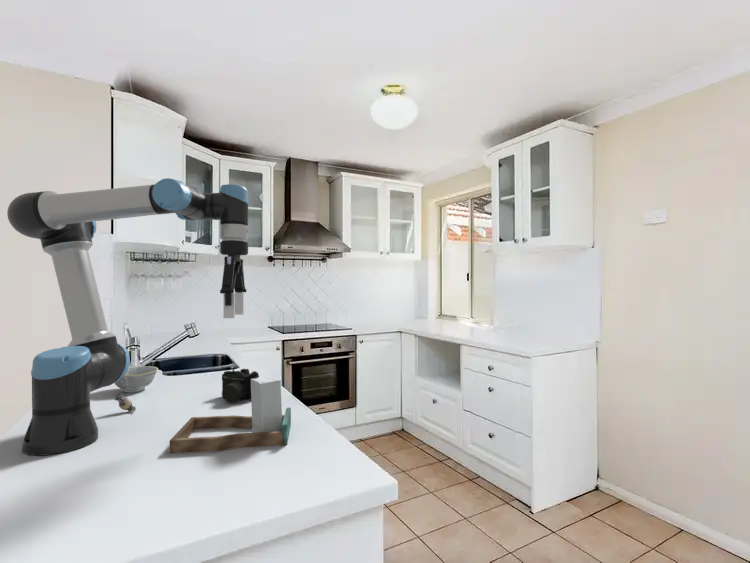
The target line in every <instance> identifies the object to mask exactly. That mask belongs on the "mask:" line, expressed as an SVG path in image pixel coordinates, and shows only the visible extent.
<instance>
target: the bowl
mask: <svg viewBox="0 0 750 563" xmlns="http://www.w3.org/2000/svg"><path fill="white" fill-rule="evenodd" d="M158 370H159V368H158V367H157V366H151V365H150V366H148V365H147V366H146V365H143V366H142V365H141V366H129V368H128V371H127V372H126V374H125V375H124V376H123V377H122V378H121V379H120V380H118V381H117V382H115V383H114V385H115V386H116V387H117V388H119V389H121V390H122V392H124V393H137V392H142V391H144V390H145V389H146V387H148V386H150V384H152V382H153V381H154V379H155V377H156V374H157V372H158Z"/></svg>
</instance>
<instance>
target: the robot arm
mask: <svg viewBox="0 0 750 563" xmlns="http://www.w3.org/2000/svg"><path fill="white" fill-rule="evenodd" d="M248 192H249V191H248V189H247V187H245V186H243V185H240V184H234V183H228V184H222V185H221V186H220V188H219V192H201V191H198V190H196V189H194V188H192V187H191V186H189V185H187V184H185V182H182V181H180V180H177V179H174V178H162V179H160V180H159V181H158V182H156V183H155V184H147V185H138V186H137V185H136V186H129V187H128V186H126V187H117V188H109V189H108V188H107V189H106V188H105V189H99V190H98V189H97V190H87V191H78V192H68V193H59V194H58V193H57V192H55V191H52V190H45V191H37V192H36V191H34V192H26V193H23V194H19V195H18V196H16V197H15V198H13V199H12V201H11V202H10V203H9V205H8V207H7V212H6V213H7V219H8V222H9V224H10V225H11V227H12V228H13V229H14V230H15V231H16V232H18V233H20V234H21V235H23V236H25V237H28V238H31V239H38V240H40V244H41V248H42V251H43V253H46V254H47V255H50V256H51V260H52V262H53V267H54V268H53V269H54V272H55V276H56V278H57V283H58V286H59V291H60V296H61V299H62V300H61V301H62V304H63V308H64V311H65V315H66V320H67V324H68V328H69V331H70V336H71V341H69V344H68V345H66V346H62V347H58V348H57V347H56V348H51V349H47V350H45V351H42V352H40V353H38V354H36V356H34V357H33V360H32V365H31V366H32V367H31V370H30V375H31V418H30V422H29V423H28V427H27V430H26V431H25V435H24V437H23V440H22V452H23V454H25V453H27V454H26V455H29V454H34V455H33V456H47V455H46V454H49V455H55V454H56V453H57V454H62V453H65V452H66V453H67V452H70V451H74V450H78V449H81V448H84V447H86V446H89V445H90V444H93V443H95V442H96V441H97V440H98V439H99V428H98V425H97V422H96V419H95V417H94V415H93V412H92V410H91V392H94V391H97V390H99V389H102V388H106V387H109V386H111V385H114V384H115V382H117V381H118V380H120V379H121V378H122V377H123V376H124V375H125V374H126V372H127V371H128V368H129V367H130V363H131V359H130V354H129V352H128V350H127V349H126V347H124V346H122V345H121V344H119V343H118V339H117V336H116V334H114V333H112V332H110V331H109V330H108V329H109V328H108V326H107V321H106V316H105V313H104V310H103V306H102V301H101V298H100V294H99V288H98V285H97V282H96V277H95V274H94V270H93V266H92V262H91V256H90V253H89V250H90V249H91V248H92V246H93V245H94V244H93V241H92V239H93V238H94V237H95V234H96V232H97V222H102V221H108V220H109V221H111V220H118V219H119V220H120V219H129V218H137V217H138V218H139V217H149V216H157V215H158V216H159V215H167V214H168V215H169V214H175V215H176V216H177V218H178V219H180V220H183V221H194V222H195V221H211V220H212V221H213V220H215V221H219V222H220V223H219V224H220V225H219V239H220V240H221V241H220V242H219V254H220V255H222V256H224V258H223V259H224V261H223V262H224V264H223V265H224V266H223V275H222V283H221V289H220V290H219V292H220V294H222V295H223V314H222V315H223V316H222V317H223V319H235V316H236V315H239V316H240V315H244V312H245V310H244V308H245V305H244V304H245V301H244V300H245V297H244V296H245V294H244V293H247V288H246V285H245V274H244V259H242V258H241V256H247V255H248V254H249V243H248V240H249V234H248V233H250V232H251V230H250V229H249V204H250V203H249V193H248ZM44 454H45V455H44Z"/></svg>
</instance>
